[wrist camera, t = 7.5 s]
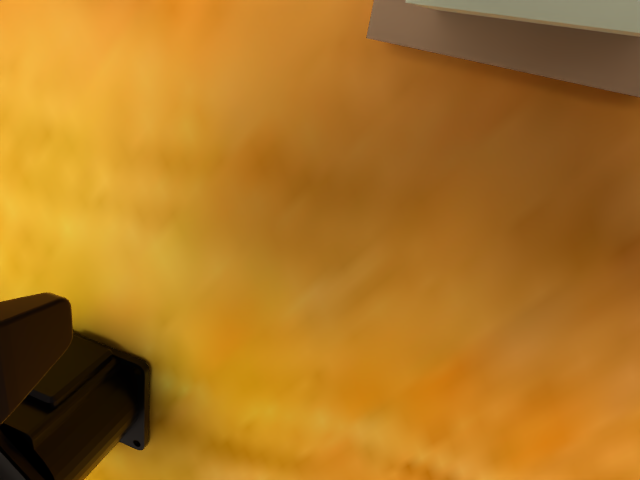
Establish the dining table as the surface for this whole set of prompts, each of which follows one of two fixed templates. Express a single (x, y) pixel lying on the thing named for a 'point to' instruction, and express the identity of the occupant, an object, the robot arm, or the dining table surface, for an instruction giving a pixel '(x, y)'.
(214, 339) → the dining table surface
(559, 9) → the cube
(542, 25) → the base
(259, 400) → the dining table surface
